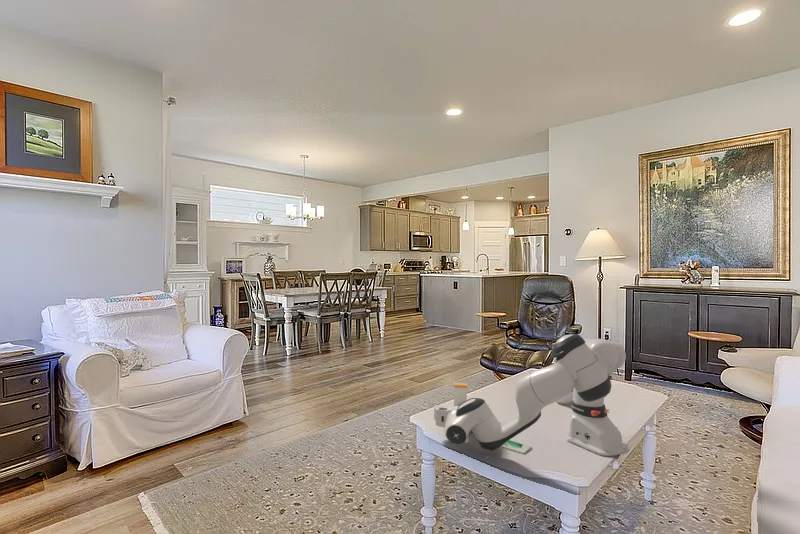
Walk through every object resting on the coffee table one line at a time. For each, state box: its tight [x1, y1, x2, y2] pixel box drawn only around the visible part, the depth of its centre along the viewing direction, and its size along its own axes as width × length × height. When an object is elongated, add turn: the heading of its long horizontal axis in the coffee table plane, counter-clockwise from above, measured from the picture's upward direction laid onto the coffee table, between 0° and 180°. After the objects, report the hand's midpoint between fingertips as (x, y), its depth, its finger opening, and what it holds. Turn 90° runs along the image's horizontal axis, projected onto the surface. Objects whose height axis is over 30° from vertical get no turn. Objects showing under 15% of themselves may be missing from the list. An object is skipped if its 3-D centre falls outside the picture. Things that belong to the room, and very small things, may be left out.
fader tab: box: [453, 382, 468, 406], centre depth 178 cm, size 3×5×17 cm, turn 80°
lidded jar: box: [556, 390, 573, 405], centre depth 213 cm, size 11×11×9 cm
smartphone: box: [500, 439, 533, 455], centre depth 162 cm, size 7×1×15 cm
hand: (460, 406), depth 176 cm, fingers closed
